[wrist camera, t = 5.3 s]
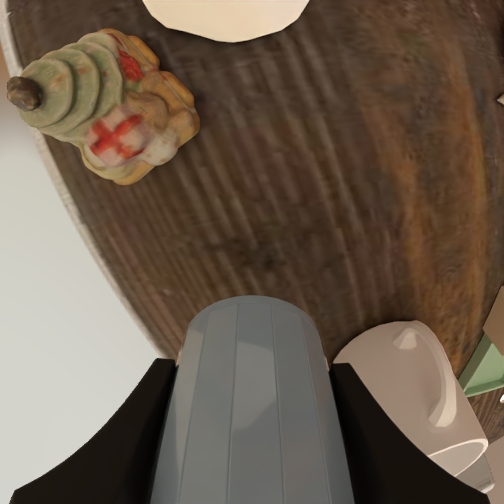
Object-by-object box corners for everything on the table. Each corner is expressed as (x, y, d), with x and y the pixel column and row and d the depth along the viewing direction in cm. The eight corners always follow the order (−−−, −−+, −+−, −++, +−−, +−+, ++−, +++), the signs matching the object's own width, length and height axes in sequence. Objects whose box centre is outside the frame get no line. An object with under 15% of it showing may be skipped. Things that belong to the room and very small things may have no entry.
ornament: (224, 112, 16) (184, 123, 7) (148, 188, 17) (59, 278, 9) (127, 24, 13) (16, -24, 4) (62, 104, 15) (-65, 131, 6)
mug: (335, 404, 27) (356, 513, 16) (312, 312, 22) (346, 464, 11) (426, 374, 25) (469, 472, 15) (433, 274, 20) (519, 391, 10)
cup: (309, 391, 13) (329, 540, 7) (190, 388, 13) (166, 538, 6) (331, 295, 10) (391, 494, 4) (177, 291, 10) (115, 491, 4)
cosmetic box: (467, 411, 30) (498, 481, 19) (467, 423, 32) (494, 488, 21) (427, 433, 31) (452, 507, 21) (430, 443, 33) (452, 510, 22)
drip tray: (499, 377, 27) (504, 386, 26) (451, 389, 27) (456, 400, 26) (531, 323, 23) (538, 332, 22) (484, 331, 23) (492, 342, 22)
